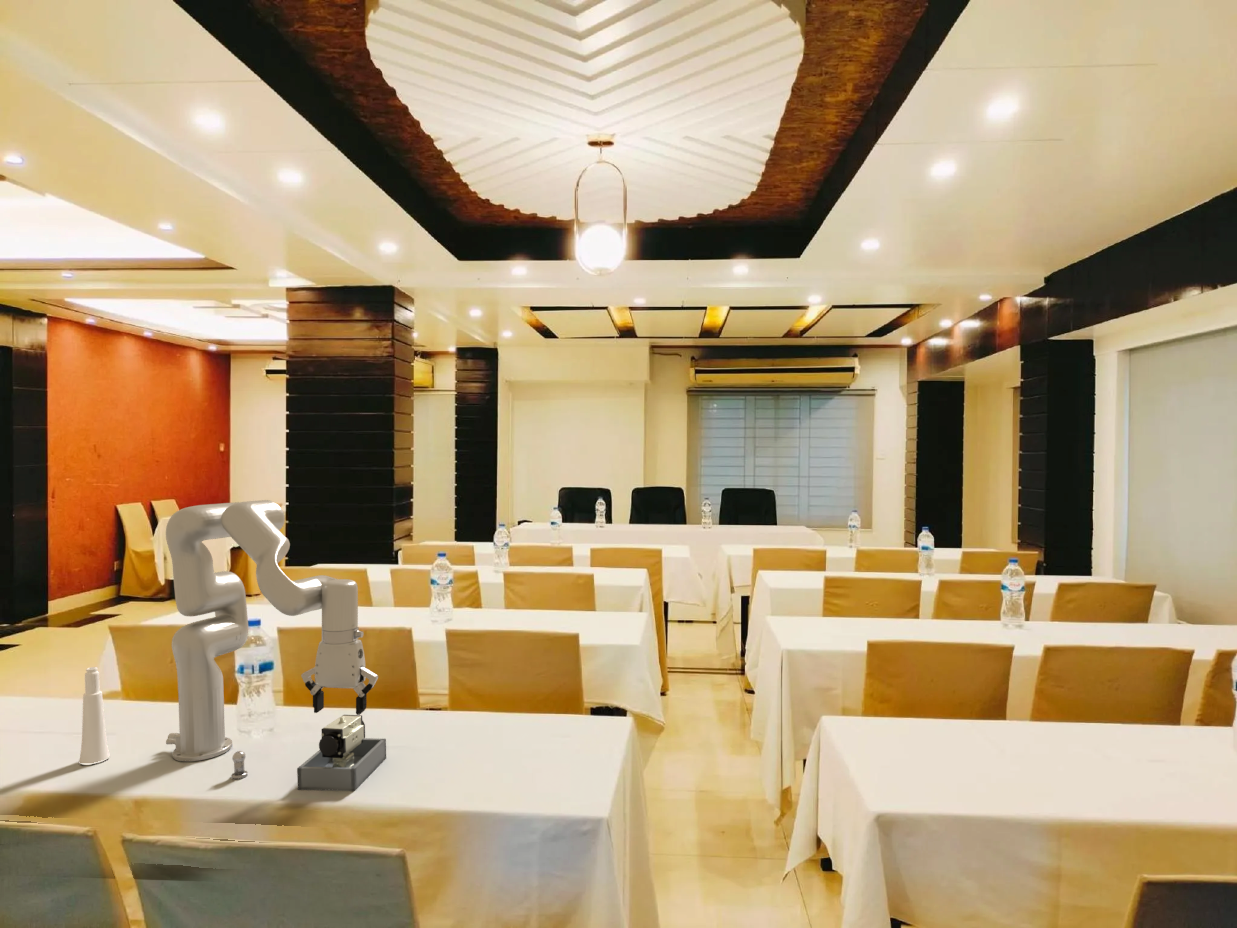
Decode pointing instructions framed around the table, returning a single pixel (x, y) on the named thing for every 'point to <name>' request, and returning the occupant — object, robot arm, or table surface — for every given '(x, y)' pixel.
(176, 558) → the robot arm
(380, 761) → the tray
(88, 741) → the cosmetic bottle
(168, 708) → the table surface
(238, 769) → the metal knob
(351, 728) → the pneumatic valve
